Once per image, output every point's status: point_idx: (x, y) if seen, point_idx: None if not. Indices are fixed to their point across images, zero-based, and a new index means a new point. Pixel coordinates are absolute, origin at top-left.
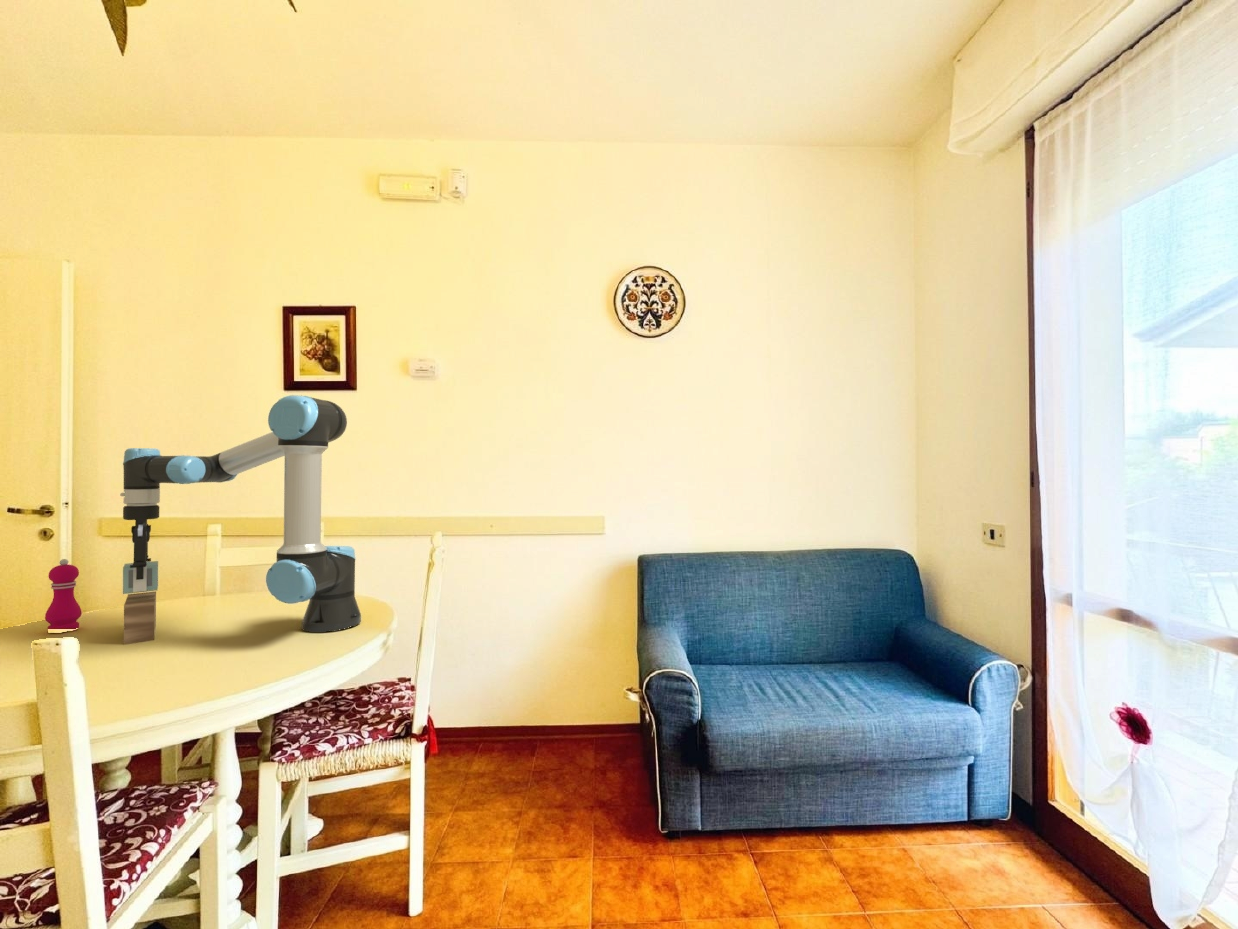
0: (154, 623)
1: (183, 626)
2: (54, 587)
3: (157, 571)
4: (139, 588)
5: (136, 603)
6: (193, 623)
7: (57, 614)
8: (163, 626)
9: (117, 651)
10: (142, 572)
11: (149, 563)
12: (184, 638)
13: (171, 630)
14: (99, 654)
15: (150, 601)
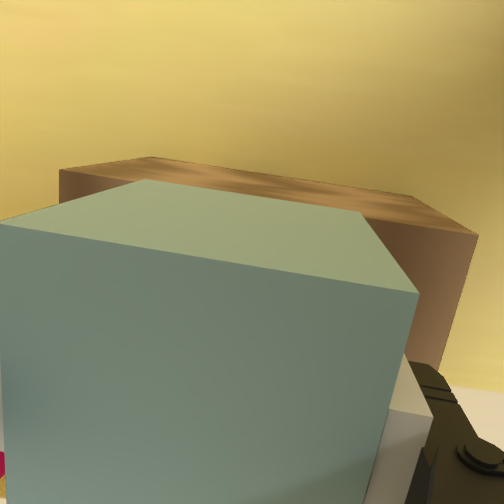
0: (366, 196)
1: (241, 58)
2: None
3: (387, 258)
4: None
5: (424, 320)
6: (210, 9)
7: (2, 469)
8: (175, 131)
9: (483, 318)
10: (459, 419)
11: (182, 352)
12: (498, 89)
13: (283, 114)
14: (472, 364)
15: (427, 249)
